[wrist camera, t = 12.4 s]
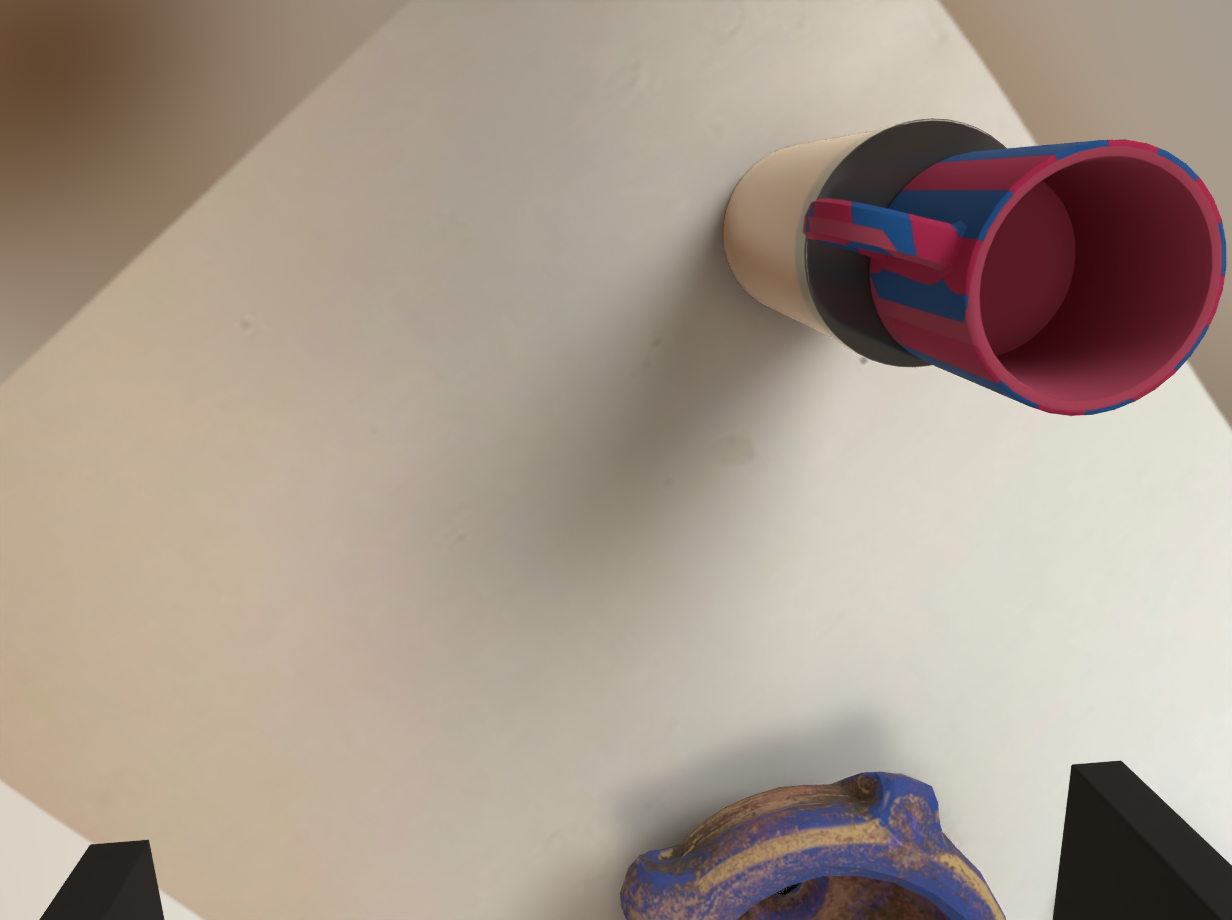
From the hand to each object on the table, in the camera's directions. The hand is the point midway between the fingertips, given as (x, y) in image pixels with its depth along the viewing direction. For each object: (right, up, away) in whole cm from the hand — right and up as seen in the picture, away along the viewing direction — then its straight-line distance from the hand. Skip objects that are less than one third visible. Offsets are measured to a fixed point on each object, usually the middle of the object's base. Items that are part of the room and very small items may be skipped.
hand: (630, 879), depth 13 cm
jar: (+8, +16, +28) cm, 34 cm away
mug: (+10, +13, +16) cm, 23 cm away
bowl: (+9, -16, +38) cm, 42 cm away
